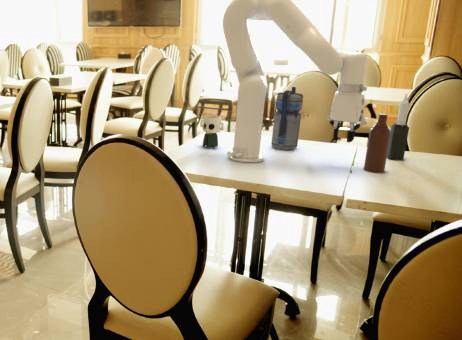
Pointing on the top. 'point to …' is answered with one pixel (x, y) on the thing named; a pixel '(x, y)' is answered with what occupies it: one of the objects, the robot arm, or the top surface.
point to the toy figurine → (211, 130)
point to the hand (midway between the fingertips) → (343, 140)
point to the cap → (343, 132)
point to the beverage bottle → (287, 120)
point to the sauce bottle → (378, 146)
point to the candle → (399, 133)
